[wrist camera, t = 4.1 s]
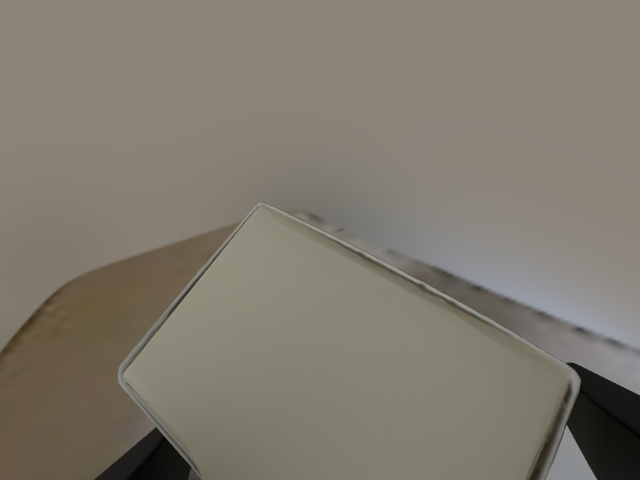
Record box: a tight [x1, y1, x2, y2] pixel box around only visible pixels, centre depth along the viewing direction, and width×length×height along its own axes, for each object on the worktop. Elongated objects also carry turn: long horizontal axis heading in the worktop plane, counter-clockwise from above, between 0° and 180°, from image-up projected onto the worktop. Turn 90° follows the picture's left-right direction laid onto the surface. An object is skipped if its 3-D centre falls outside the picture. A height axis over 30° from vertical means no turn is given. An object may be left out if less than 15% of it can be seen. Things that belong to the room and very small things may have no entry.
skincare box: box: [118, 202, 581, 480], centre depth 10 cm, size 6×4×12 cm
